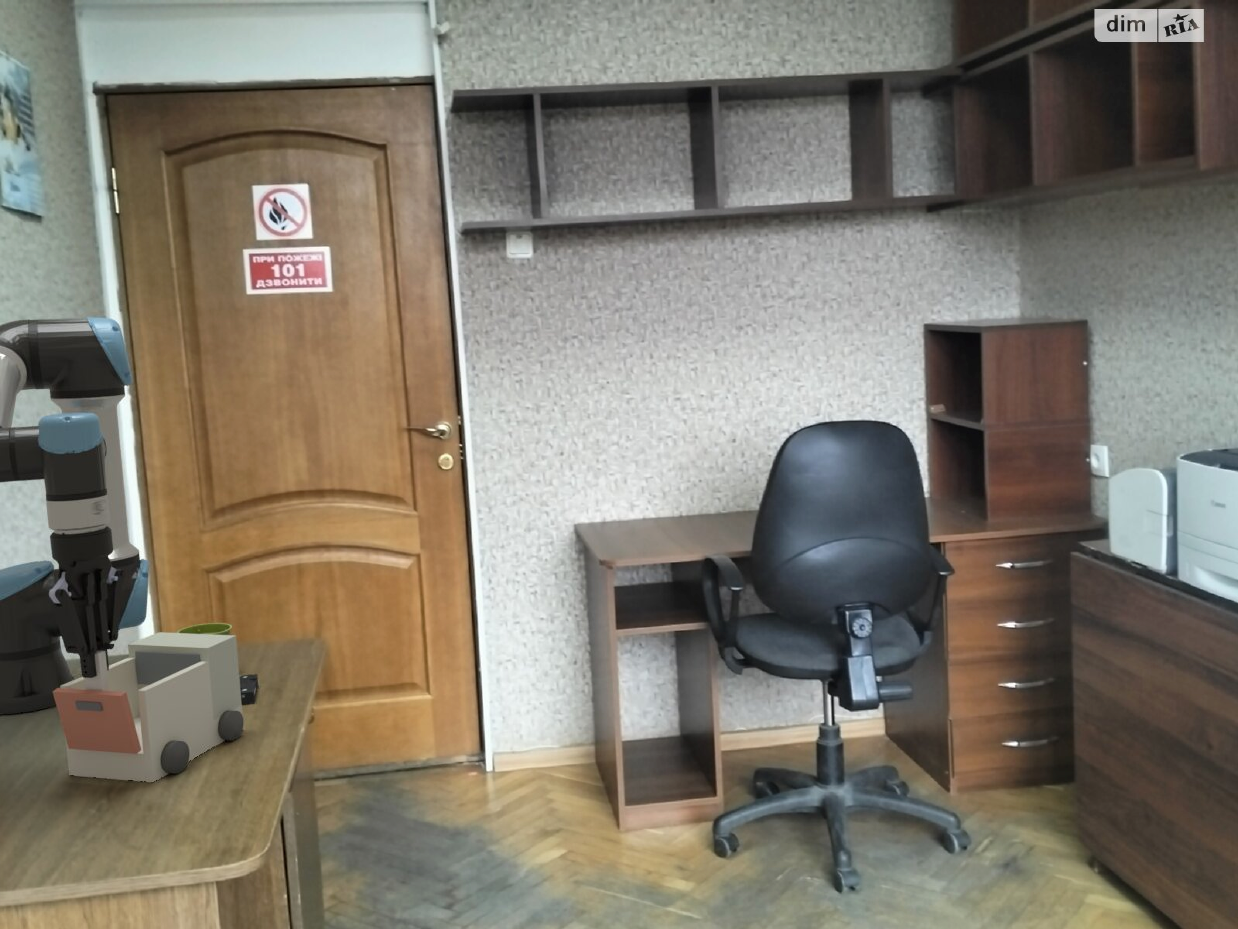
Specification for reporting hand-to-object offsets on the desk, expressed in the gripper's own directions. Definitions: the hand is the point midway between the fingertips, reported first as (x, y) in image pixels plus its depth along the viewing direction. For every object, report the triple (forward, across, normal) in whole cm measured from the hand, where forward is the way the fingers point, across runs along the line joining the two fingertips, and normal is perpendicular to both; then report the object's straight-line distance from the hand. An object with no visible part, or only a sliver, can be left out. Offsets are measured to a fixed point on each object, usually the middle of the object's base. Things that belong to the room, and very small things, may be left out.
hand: (98, 697), depth 157 cm
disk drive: (+13, +34, +8) cm, 38 cm away
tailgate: (+8, 0, 0) cm, 8 cm away
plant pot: (+13, +46, +17) cm, 51 cm away
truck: (+12, +11, 0) cm, 17 cm away
